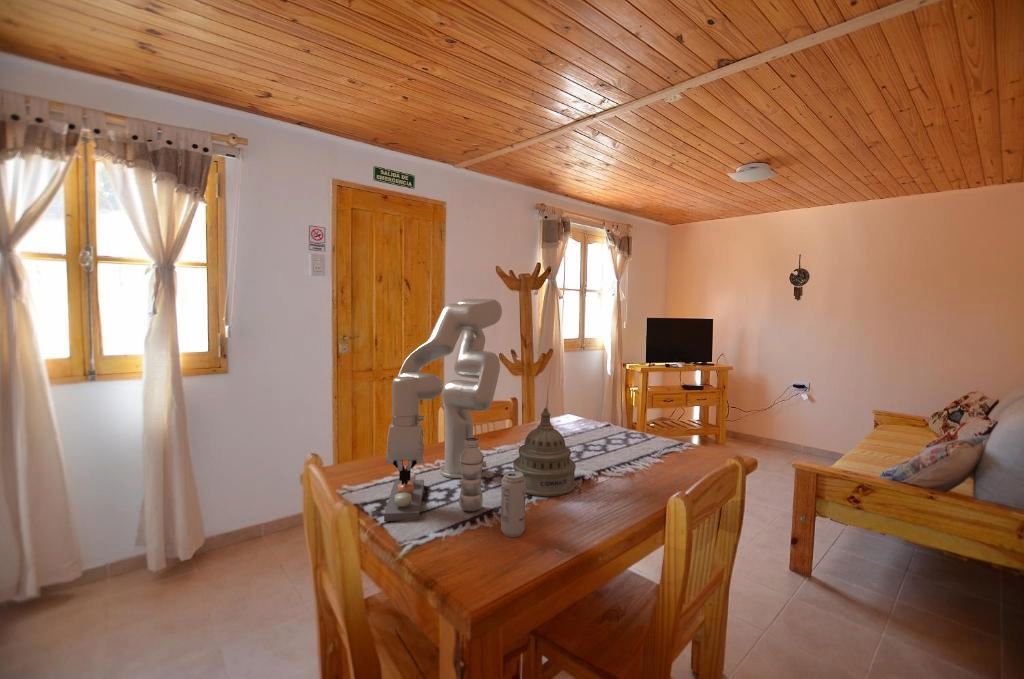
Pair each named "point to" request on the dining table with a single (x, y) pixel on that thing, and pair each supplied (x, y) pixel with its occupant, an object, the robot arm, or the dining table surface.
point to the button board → (405, 511)
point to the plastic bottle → (471, 476)
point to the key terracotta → (406, 488)
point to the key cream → (412, 478)
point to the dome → (546, 461)
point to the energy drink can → (513, 504)
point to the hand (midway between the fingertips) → (404, 482)
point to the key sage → (403, 499)
